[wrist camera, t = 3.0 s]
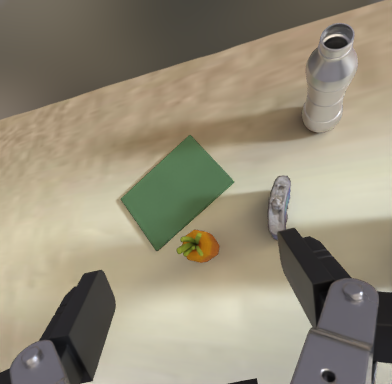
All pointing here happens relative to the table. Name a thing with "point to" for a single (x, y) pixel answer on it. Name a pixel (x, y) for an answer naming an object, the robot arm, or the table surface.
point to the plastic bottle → (329, 77)
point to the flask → (278, 205)
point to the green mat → (176, 192)
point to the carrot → (199, 246)
